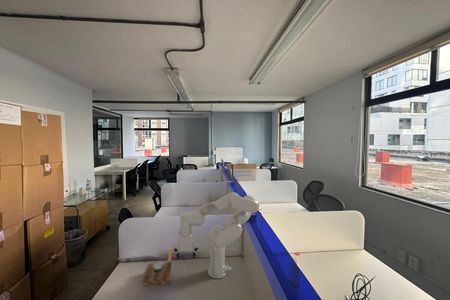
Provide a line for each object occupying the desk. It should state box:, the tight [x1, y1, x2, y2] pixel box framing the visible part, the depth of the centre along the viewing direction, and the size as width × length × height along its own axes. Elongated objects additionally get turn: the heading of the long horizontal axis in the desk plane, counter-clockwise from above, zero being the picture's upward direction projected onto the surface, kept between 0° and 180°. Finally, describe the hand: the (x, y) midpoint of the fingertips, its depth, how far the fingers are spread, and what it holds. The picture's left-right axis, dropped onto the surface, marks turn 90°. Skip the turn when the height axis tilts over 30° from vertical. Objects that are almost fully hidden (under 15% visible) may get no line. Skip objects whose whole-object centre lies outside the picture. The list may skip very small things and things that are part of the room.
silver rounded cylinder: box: [153, 260, 164, 272], centre depth 135 cm, size 6×6×9 cm
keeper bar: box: [167, 247, 172, 263], centre depth 135 cm, size 9×3×1 cm
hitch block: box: [142, 257, 174, 287], centre depth 135 cm, size 16×12×11 cm
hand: (185, 257), depth 136 cm, fingers open, 9 cm apart
